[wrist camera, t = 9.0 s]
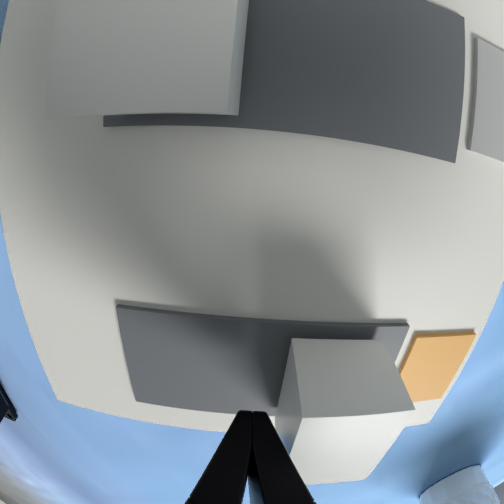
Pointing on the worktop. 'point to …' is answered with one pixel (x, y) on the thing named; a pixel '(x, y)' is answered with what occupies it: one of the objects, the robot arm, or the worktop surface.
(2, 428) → the worktop surface
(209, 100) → the middle slider
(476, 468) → the white cup
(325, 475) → the block
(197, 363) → the switch unit
